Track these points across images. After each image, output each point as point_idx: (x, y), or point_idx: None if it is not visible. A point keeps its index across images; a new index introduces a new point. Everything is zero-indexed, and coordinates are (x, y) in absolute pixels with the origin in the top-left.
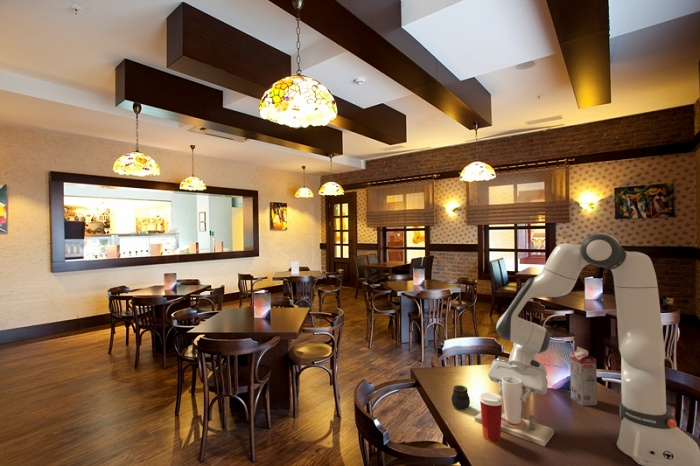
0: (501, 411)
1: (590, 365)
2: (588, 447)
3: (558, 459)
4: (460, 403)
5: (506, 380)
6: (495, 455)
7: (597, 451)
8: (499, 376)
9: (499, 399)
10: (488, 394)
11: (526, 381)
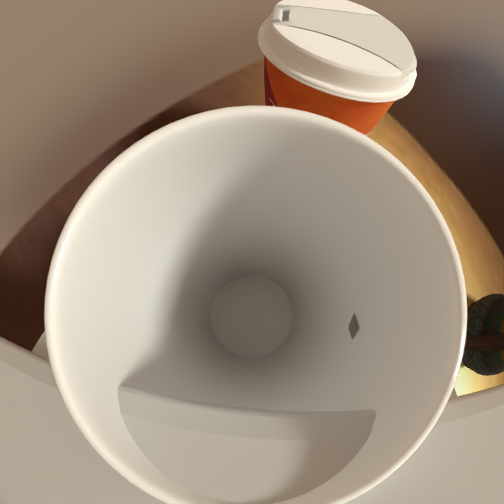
0: (264, 78)
1: None
2: (17, 309)
3: (80, 175)
4: (486, 298)
5: (381, 413)
6: (251, 83)
7: (4, 298)
8: (486, 424)
9: (278, 13)
10: (380, 47)
11: (24, 426)
